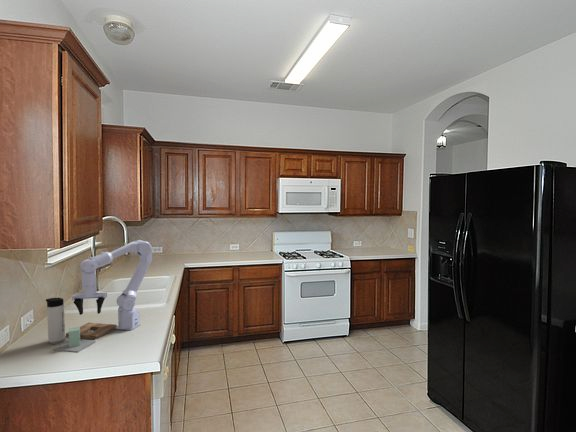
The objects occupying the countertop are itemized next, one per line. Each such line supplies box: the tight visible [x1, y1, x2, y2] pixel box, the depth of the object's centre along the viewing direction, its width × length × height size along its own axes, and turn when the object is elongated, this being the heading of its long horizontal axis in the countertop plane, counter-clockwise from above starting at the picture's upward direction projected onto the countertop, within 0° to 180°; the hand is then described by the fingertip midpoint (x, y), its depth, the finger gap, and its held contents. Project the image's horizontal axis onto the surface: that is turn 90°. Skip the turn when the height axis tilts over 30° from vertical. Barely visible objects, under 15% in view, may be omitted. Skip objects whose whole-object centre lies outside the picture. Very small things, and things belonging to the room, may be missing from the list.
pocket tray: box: [65, 322, 118, 340], centre depth 165 cm, size 16×14×2 cm
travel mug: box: [45, 297, 66, 345], centre depth 154 cm, size 6×7×20 cm
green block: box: [68, 326, 81, 348], centre depth 150 cm, size 4×4×7 cm
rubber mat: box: [52, 339, 96, 353], centre depth 150 cm, size 12×10×1 cm
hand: (90, 313), depth 161 cm, fingers open, 7 cm apart
